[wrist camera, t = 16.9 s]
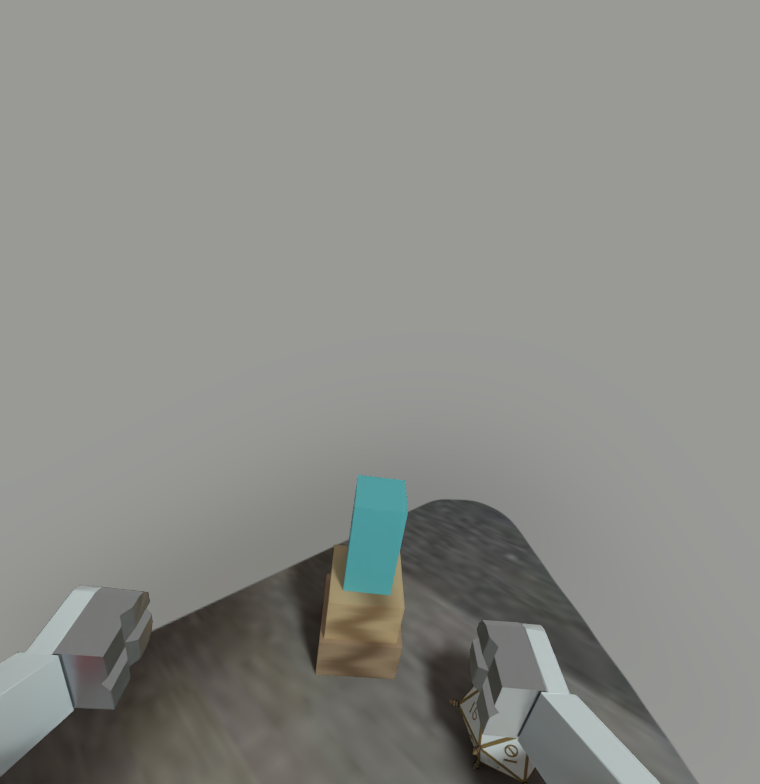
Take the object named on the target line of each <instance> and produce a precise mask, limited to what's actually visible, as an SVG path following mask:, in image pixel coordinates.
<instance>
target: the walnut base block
mask: <svg viewBox="0 0 760 784" xmlns="http://www.w3.org/2000/svg"><path fill="white" fill-rule="evenodd" d="M330 577H331V574H327V576H326V584H325V593H324V602H323V610H322V619H321V628H320V637H319V646H318V655H317V665H316V674H319V675H336V676H352V677H369V678H385V679H395V676H396V672H397V668H398V664H399V660H400V656H401V652H402V636H401V626H400V630H399V634H398V638H397V643H396V644H392V643H378V642H364V641H350V640H336V639H324V634H325V625H326V615H327V606H328V596H329V586H330Z"/></svg>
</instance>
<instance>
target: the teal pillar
mask: <svg viewBox="0 0 760 784" xmlns="http://www.w3.org/2000/svg"><path fill="white" fill-rule="evenodd" d="M406 498H407V497H406V484H405V481H404V480H396V479H387V478H379V477H371V476H363V475H358V478H357V486H356V493H355V500H354V507H353V515H352V521H351V529H350V536H349V543H348V550H347V558H346V567H345V577H344V586H343V590H344V591H353V592H362V593H372V594H381V595H391V590H392V585H393V581H394V576H395V571H396V566H397V561H398V557H399V552H400V547H401V542H402V538H403V533H404V528H405V523H406V518H407V514H408V511H407V499H406Z"/></svg>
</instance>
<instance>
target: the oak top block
mask: <svg viewBox="0 0 760 784" xmlns="http://www.w3.org/2000/svg"><path fill="white" fill-rule="evenodd" d="M347 550H348V546H344V545H334V553H333V561H332V569H331V577H330V586H329V596H328V606H327V615H326V625H325V634H324V639H336V640H350V641H364V642H378V643H392V644H396V643H397V638H398V634H399V630H400V626H401V621H402V617H403V613H404V609H405V608H404V596H403V584H402V572H401V559H400V552H399V557H398V561H397V566H396V571H395V576H394V581H393V585H392V590H391V595H381V594H372V593H362V592H353V591H344V590H343V586H344V577H345V567H346V558H347Z"/></svg>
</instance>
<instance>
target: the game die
mask: <svg viewBox="0 0 760 784" xmlns="http://www.w3.org/2000/svg"><path fill="white" fill-rule="evenodd" d="M479 694H480V693H479V691H478V690H477V689H476V687H475V686H473V687H472V688H471V689H470V690H469V691H468V693H467V694H466V695H465V696H464V697H463V698H462V700H461V701H460V702H458V701H457V700H454V699H453V700H450V701H449V702H450V703H451V704H452V706H455V707H456V706H458V707H459V709H460V712H461V715H462V717H463V720H464V723H465V726H466V728H467V731H468V734H469V737H470V739H471V742H472V745H473V754H474V755H476V756H477V760H475V762H474V763H473V765H474V767H473V769H479V766H480V763H483V764H485V765H487V766H489V767H491V768H493V769H495V770H497V771H499V772H501V773H503V774H505V775H507V776H509V777H511V778H513V779H515V780H517V781H519V782H522V784H527V780H528V779H529V778H530V776H531V775H532V773H533V772H534V770H535V769H536V767H535V766H534V764H533V763H532V761H531V760H530V758H529V757H528V755H527V754H526V752H525V751H524V749H523V748H522V746H521V745H520V743H519V742H518V738H510V737H501V736H491V735H482V730H481V725H480V720H479V715H478V710H477V705H476V702H477V699H478V697H479Z"/></svg>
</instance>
